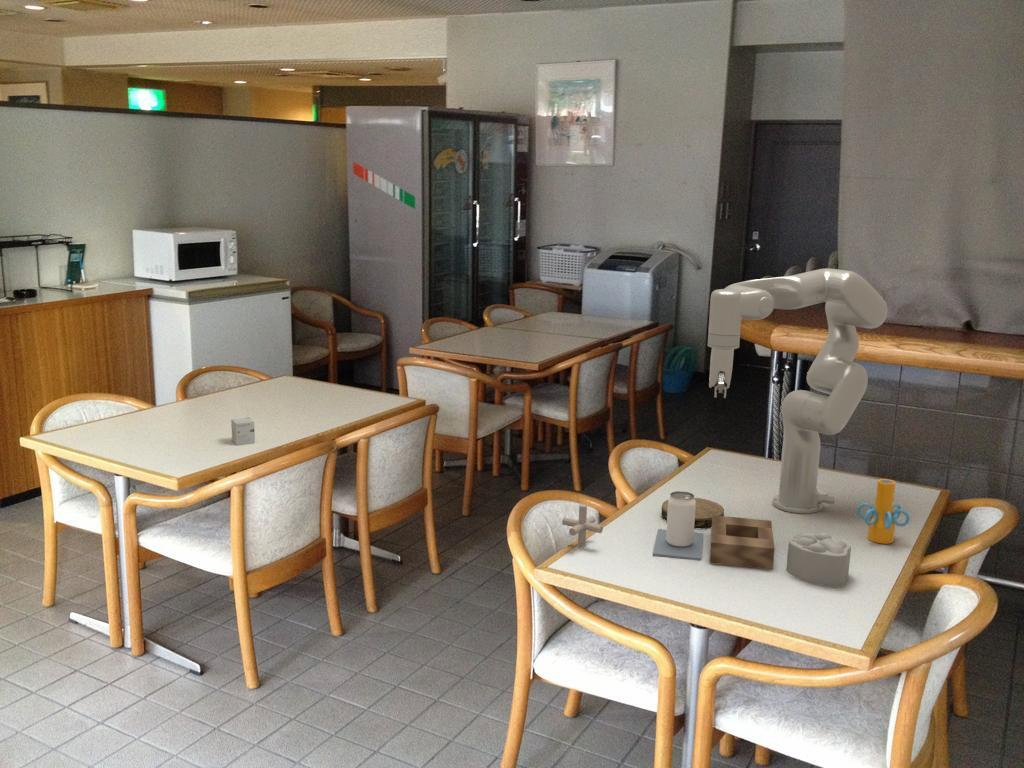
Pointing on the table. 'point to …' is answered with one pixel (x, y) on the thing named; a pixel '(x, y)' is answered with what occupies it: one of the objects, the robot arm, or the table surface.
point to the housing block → (742, 542)
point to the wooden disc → (700, 512)
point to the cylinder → (883, 514)
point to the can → (680, 519)
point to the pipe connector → (582, 525)
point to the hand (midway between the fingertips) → (719, 408)
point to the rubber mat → (678, 552)
